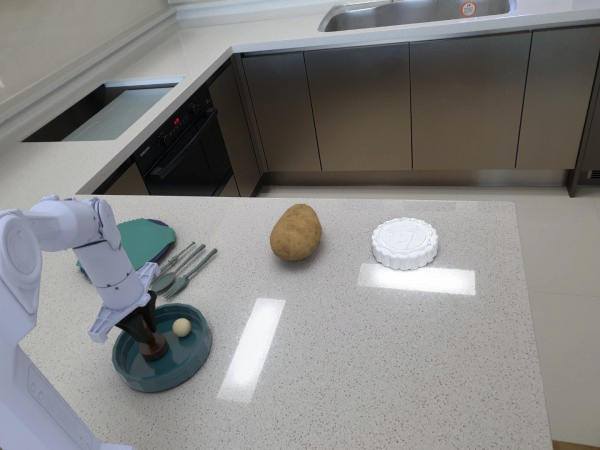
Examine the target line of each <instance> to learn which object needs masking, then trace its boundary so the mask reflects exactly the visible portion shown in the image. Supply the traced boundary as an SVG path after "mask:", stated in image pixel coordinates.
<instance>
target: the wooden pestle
mask: <svg viewBox="0 0 600 450" xmlns="http://www.w3.org/2000/svg"><path fill="white" fill-rule="evenodd" d="M134 313H136V314H142V313H141V312H134ZM142 321H143V325H144V328H145V330H146V332H147V334H148V336H149V340H150V341H149V342H148V343H147V344H145V343H140V344H139V352H140V353H141V355H142V357H143V358H144V359H145V360H150V361H151V360H156V359H158V358H160V357H161V356H163V355H164V354H165V353H166V351H167V349H168V342H167V340H166V338H165V336H164V335H163V334H160V333H152V332H151V330H150V328H149V326H148V324H147V322H146V320H145V319H144V317H143V315H142Z"/></svg>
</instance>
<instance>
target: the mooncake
mask: <svg viewBox="0 0 600 450" xmlns="http://www.w3.org/2000/svg"><path fill="white" fill-rule="evenodd" d="M370 241H371V242H370V243H371V250H372V255H373V257H375V260H376V261H377V262H378V263H381V265H382V266H383V267H386V268H390V269H391V270H394V271H395V270H401V271H403V272H404V271H408V270H411V271H414V270H417V269H418V268H423V267H426V266H427V264H429V263H432V262H433V261H434V258H435V257H436V256H438V250H439V235H438V234H437V230H436V229H435V228H434V227H433V226H432V225H431V224H430V223H428V222H426V221H425V220H423V219H418V218H416V217H410V218H409V217H406V216H403V217H400V218H399V217H395V218H392V219H391V220H385V221H384V222H383V223H381V224H378V225H377V226H376V228H374V230H373V231H372V235H371V237H370Z"/></svg>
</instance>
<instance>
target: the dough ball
mask: <svg viewBox="0 0 600 450" xmlns="http://www.w3.org/2000/svg"><path fill="white" fill-rule="evenodd" d="M190 331H191V324H190V322H189V321H188V320H187V319H184V318H181V319H178V320H176V321H175V322H174V324H173V332H174V334H175V335H177V336H179V337H184V336H186V335H188V334H189V332H190Z"/></svg>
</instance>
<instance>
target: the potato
mask: <svg viewBox="0 0 600 450" xmlns="http://www.w3.org/2000/svg"><path fill="white" fill-rule="evenodd" d="M322 233H323V227H322V224H321V221H320V219H319V216H318V215H317V212H316V210H314V208H313V207H312V206H310V205H308V204H306V203H295V204H294V205H292V206H290V207H288V208H287V209H286V210H285V211H284V212H283V214H282V215H281V217H279V219H278V220H277V221H276V223H275V224H274V226H273V228H272V230H271V232H270V235H269V245H270V249H271V251H272V252H273V253H274V255H275V256H277V257H278V258H280V260H283V261H289V262H295V261H296V262H297V261H300V260H303V259H306V258H307V257H309V256H310V255H312V254H313V253H314V252H315V251H316V249H317V247H318V245H319V244H320V242H321V238H322Z"/></svg>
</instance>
